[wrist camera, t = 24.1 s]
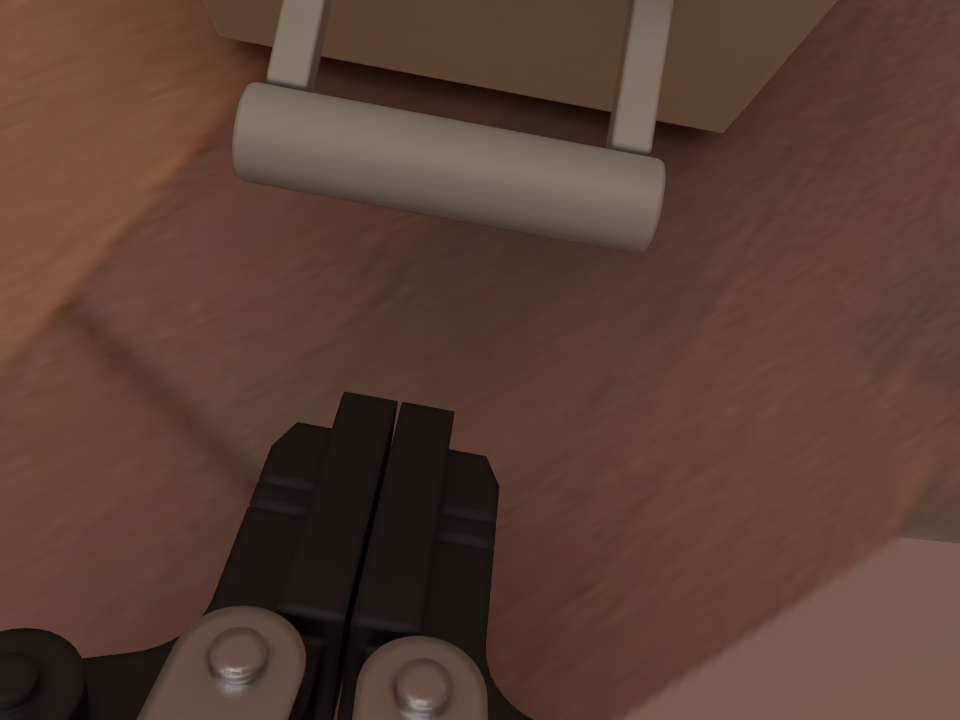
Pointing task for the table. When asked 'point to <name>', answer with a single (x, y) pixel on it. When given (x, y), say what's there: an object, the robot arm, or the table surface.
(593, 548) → the table surface
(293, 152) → the drawer
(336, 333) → the table surface
